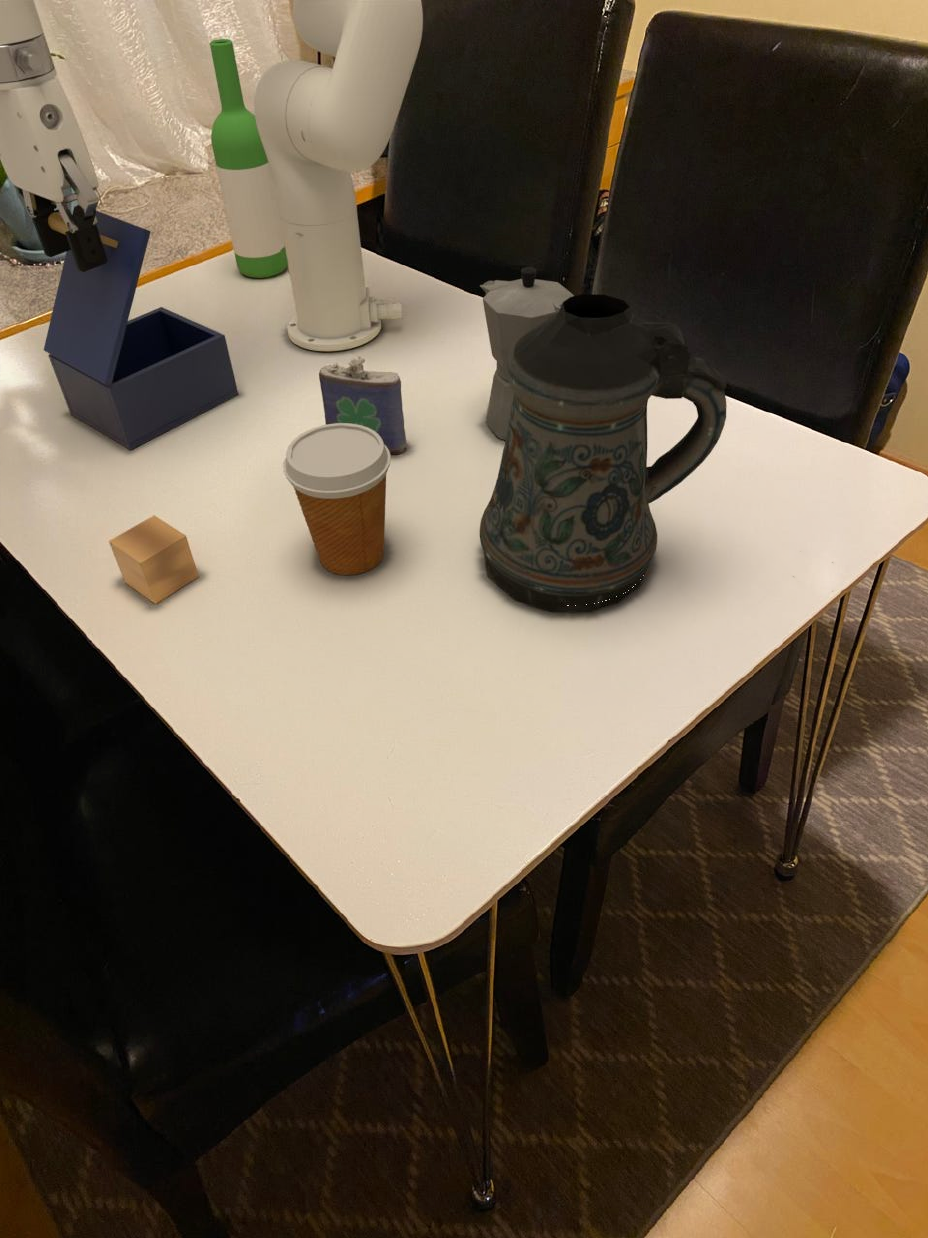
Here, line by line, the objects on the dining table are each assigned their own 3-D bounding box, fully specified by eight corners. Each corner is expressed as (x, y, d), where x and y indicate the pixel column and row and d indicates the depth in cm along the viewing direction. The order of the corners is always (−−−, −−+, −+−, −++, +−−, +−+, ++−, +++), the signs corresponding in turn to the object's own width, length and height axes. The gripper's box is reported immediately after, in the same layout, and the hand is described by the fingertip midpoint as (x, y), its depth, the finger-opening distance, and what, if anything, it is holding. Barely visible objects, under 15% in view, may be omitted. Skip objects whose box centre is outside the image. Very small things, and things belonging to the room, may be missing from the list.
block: (168, 555, 88) (154, 514, 84) (199, 576, 85) (186, 535, 82) (124, 582, 85) (108, 541, 82) (155, 604, 83) (140, 563, 79)
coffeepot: (456, 419, 104) (449, 265, 92) (511, 388, 109) (511, 237, 96) (558, 470, 96) (566, 308, 84) (612, 434, 101) (627, 276, 88)
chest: (177, 364, 116) (161, 306, 111) (238, 394, 110) (224, 334, 105) (70, 414, 108) (47, 354, 103) (130, 450, 102) (109, 388, 96)
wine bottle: (296, 260, 139) (260, 34, 119) (278, 281, 134) (236, 48, 113) (250, 257, 141) (206, 33, 120) (230, 278, 135) (179, 47, 115)
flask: (409, 444, 101) (401, 356, 93) (401, 458, 99) (392, 369, 91) (333, 434, 103) (319, 347, 95) (323, 448, 101) (308, 361, 93)
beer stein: (455, 529, 89) (443, 282, 72) (629, 484, 94) (657, 242, 77) (521, 637, 78) (525, 376, 61) (715, 580, 83) (770, 321, 65)
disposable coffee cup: (304, 528, 90) (283, 424, 82) (399, 520, 91) (388, 416, 82) (300, 591, 83) (277, 484, 75) (402, 582, 84) (390, 475, 75)
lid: (84, 205, 98) (35, 186, 94) (151, 231, 92) (102, 212, 88) (49, 351, 103) (1, 340, 98) (111, 385, 96) (63, 374, 92)
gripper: (96, 64, 79) (154, 267, 92) (-1, 41, 88) (64, 230, 100) (18, 84, 75) (90, 293, 88) (-75, 58, 84) (2, 252, 96)
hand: (76, 257), depth 94 cm, fingers closed on lid, 5 cm apart
